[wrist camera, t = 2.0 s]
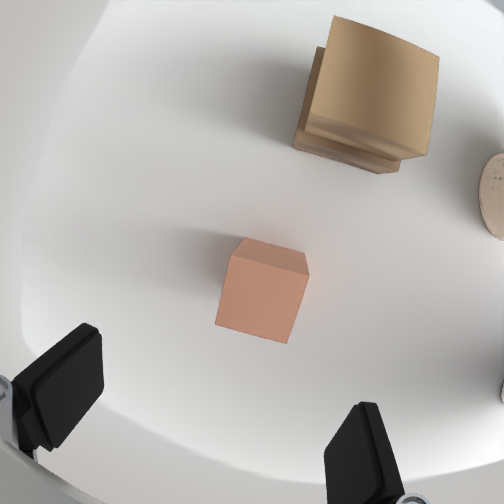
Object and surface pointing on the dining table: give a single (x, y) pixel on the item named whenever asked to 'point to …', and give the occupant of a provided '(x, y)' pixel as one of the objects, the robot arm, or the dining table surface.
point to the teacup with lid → (493, 195)
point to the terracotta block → (263, 290)
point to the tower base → (331, 147)
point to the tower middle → (374, 92)
